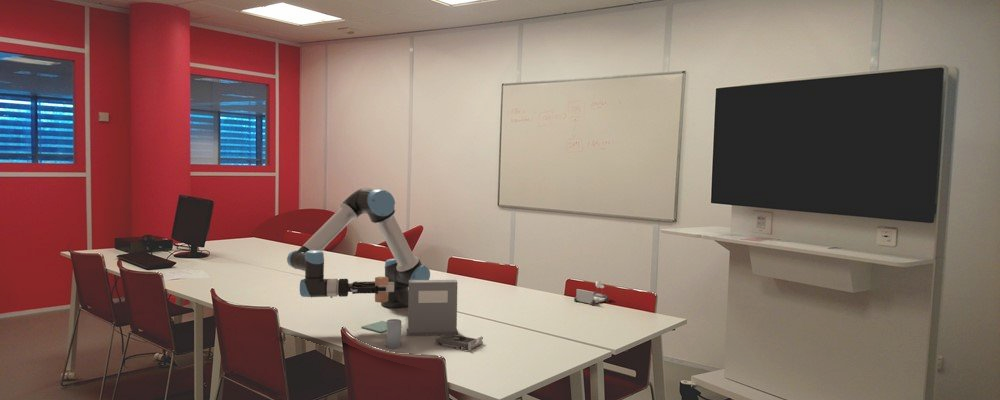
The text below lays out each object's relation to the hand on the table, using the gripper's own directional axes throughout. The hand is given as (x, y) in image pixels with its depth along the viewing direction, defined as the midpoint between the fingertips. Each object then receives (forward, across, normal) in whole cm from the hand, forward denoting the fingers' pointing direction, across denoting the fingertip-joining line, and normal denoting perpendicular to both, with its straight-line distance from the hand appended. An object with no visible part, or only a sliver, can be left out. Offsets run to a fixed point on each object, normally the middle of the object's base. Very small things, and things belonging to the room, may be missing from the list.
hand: (394, 286), depth 260 cm
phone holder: (+103, -42, -19) cm, 113 cm away
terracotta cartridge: (-5, 0, -6) cm, 8 cm away
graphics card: (+26, +26, -18) cm, 41 cm away
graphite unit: (+16, +10, -18) cm, 26 cm away
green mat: (-5, 0, -18) cm, 18 cm away
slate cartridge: (0, +26, -18) cm, 32 cm away
